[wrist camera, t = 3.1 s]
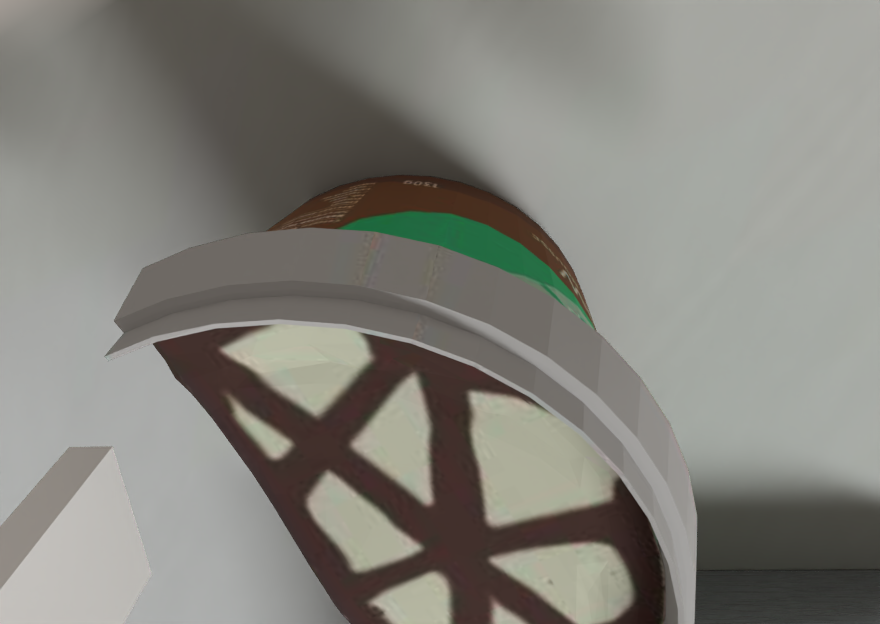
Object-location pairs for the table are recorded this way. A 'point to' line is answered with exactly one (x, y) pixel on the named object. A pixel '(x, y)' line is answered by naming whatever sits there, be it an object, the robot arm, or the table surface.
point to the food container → (431, 410)
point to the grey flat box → (788, 597)
